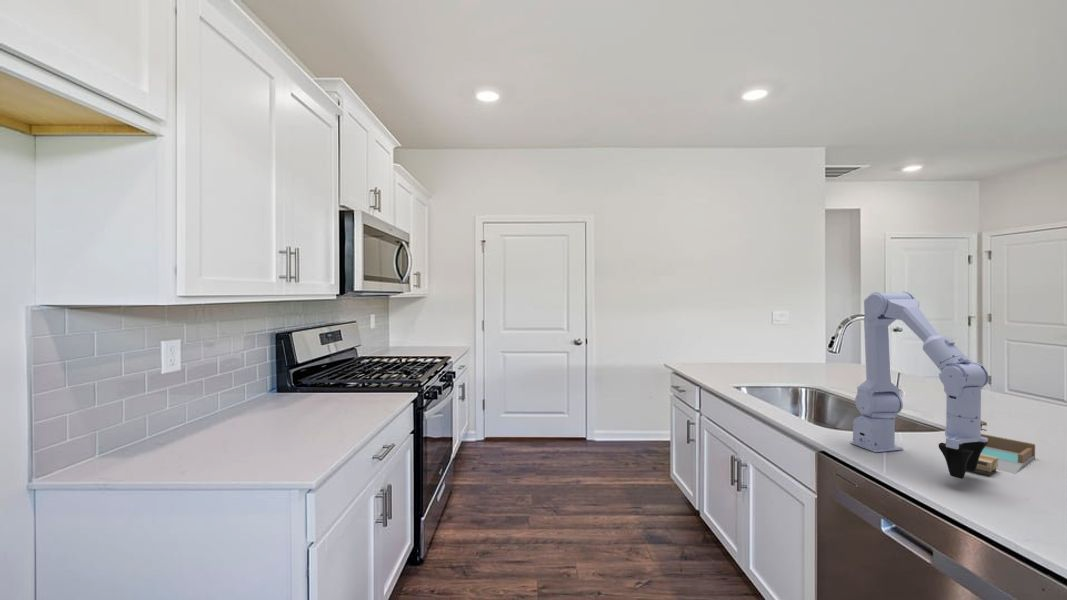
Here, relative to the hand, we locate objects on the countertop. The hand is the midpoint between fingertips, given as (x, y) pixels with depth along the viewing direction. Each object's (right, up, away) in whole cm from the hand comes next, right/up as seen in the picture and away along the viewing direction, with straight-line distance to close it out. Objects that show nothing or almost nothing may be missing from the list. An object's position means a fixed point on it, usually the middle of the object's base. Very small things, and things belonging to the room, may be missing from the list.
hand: (962, 473), depth 103 cm
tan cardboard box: (+10, -2, +6) cm, 12 cm away
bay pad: (+23, -1, +14) cm, 27 cm away
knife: (+37, -1, +35) cm, 51 cm away
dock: (+21, -2, +13) cm, 25 cm away
